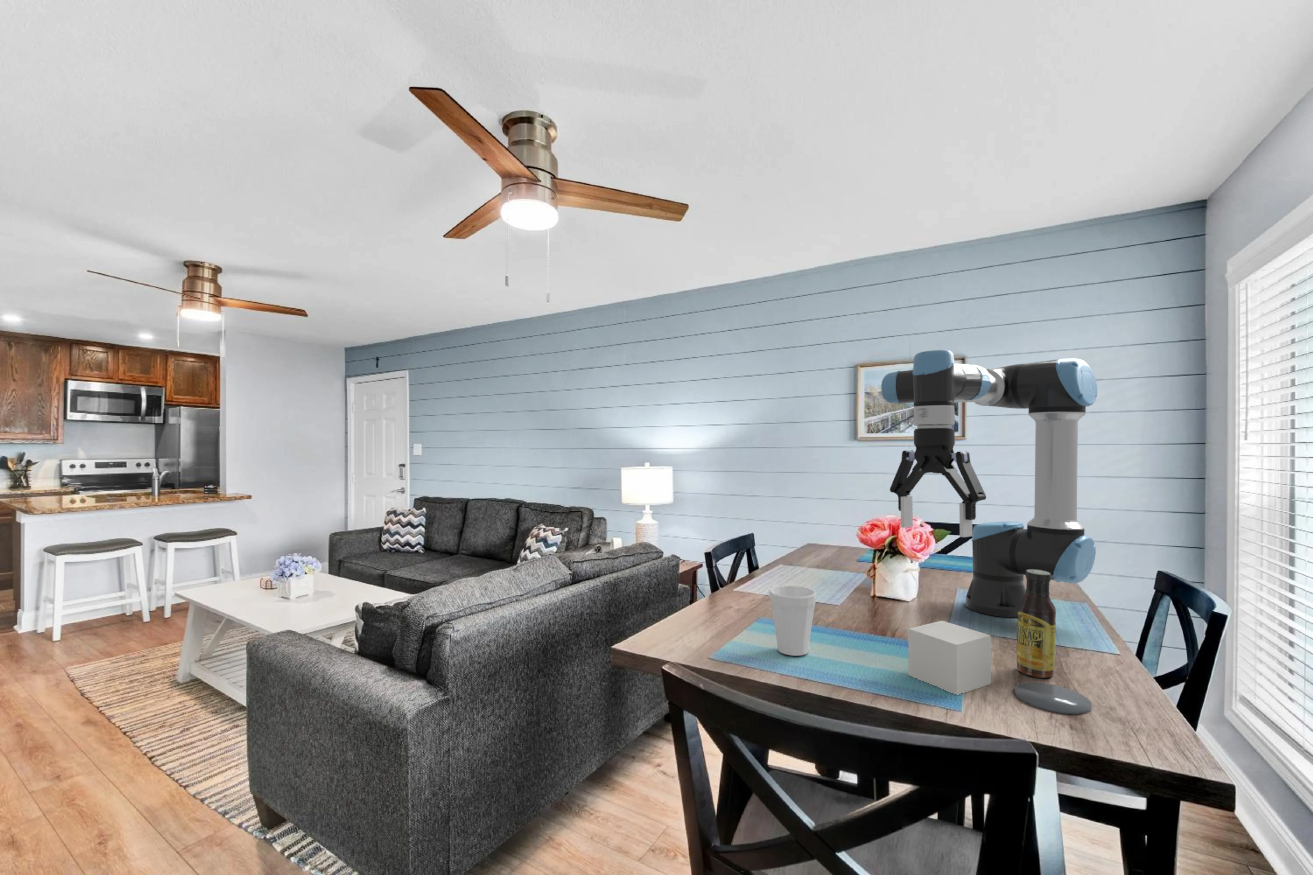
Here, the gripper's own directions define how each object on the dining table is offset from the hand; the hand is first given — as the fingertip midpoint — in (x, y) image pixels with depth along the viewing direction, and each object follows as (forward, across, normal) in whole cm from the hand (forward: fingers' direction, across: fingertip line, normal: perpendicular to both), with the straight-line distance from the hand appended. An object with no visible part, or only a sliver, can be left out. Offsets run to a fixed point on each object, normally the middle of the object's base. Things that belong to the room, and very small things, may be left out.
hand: (934, 531), depth 118 cm
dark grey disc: (+27, +20, +3) cm, 34 cm away
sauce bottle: (+27, +13, +12) cm, 32 cm away
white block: (+27, +7, -5) cm, 28 cm away
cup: (+27, -18, -22) cm, 39 cm away
